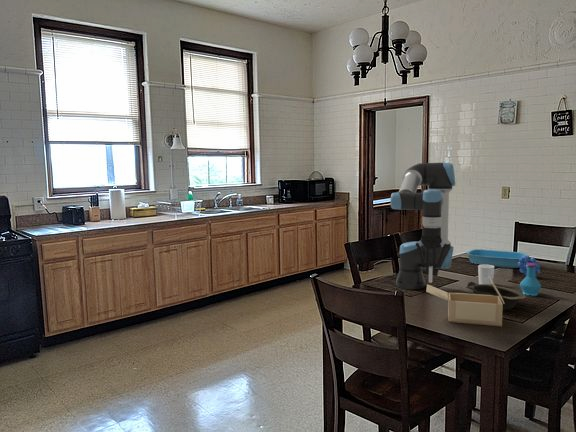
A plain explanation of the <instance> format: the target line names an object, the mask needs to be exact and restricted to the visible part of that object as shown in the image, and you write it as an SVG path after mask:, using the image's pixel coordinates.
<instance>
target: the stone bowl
mask: <svg viewBox="0 0 576 432" xmlns="http://www.w3.org/2000/svg"><path fill="white" fill-rule="evenodd" d="M495 286H496V288H497V290H498V291H499V293H500V295H501V297H502V299H503V301H504V303H505V304H503V302H502V300H501V298H500V300H501V302H502V304H503V311H505V310H508V311H509V310H511V309H513V308H514V307H515V306H516V305H517V304H518V302H519V299H521V300H523V299H526V298H527V295H525V294H523V292H521V291H518V290H515V289H512V288H509V287H508V288H507V287H505V286H499V285H495ZM465 288H466V289H468V290H471V291H473V292H472V294H481V295H492V296H499V295H498V293H497V292H496V290H495V288H494V286H493V285H490V284H479V283H476V282H473V281H470V282H468V283H467V286H465Z"/></svg>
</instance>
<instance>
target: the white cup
mask: <svg viewBox="0 0 576 432" xmlns="http://www.w3.org/2000/svg"><path fill="white" fill-rule="evenodd" d="M477 269H478V270H477V271H478V272H477V273H478V285H479V284H490V285H492V283H491V280H490V278H491V279H492V281H493V282H494V275H495V266H493V265H487V264H481V265H477ZM489 277H490V278H489Z"/></svg>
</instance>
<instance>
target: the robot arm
mask: <svg viewBox="0 0 576 432" xmlns="http://www.w3.org/2000/svg"><path fill="white" fill-rule="evenodd" d="M455 176H456V175H455V169H454V164H453V163H451V162H444V161H443V162H421V163H417V164H414V165H412V166H411V167H409V168H408V169H406V171H405V172H404V173H403V175H402V183H401V185H400V187H399V189H398V190H399V191H397V192H392V193H391V195H390V208H391V209H392V210H399V211H401V210H404V211H405V210H406V211H408V210H410V211H411V210H412V211H413V210H415V211H422V216H421V217H422V218H421V219H422V229H421V230H422V231H421V237H420V240H419V241H407V242H404V243H402V244H401V245H400V246H399V252H398V254H399V268H398V269H399V271H398V273H397V277H396V280H395V286H396V287H397V288H400V289H405V290H423V289H425V288H426V280H425V278H424V274H423V268H425V274H426V275H428V283H429V284H431V283H433V275H436V269H440V270H442V269H445V270H446V269H447V270H448V269H449V268H451V265H452V260H453V253H454V248H455V247H454V245H453V246H452V245H451V243H452V242H451V241H450V240H449V238H448V237H449V206H450V205H449V204H450V200H449V199H450V192H452V190H453V187H454V186H456V177H455ZM420 186H425V187H428V188H427V189H424V190H423V191H422V192H417V191H418V187H420Z"/></svg>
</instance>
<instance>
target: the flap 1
mask: <svg viewBox="0 0 576 432" xmlns="http://www.w3.org/2000/svg"><path fill="white" fill-rule="evenodd" d="M425 292H426V293H428V294H431V295H433V296H435V297H438V298H440V299H443V300H445V301H447V302H448V293H449V292H447V291H446V290H445V291H444V290H442V289H440V288H438V287H435V286H432V285H431V284H428V283H427V284H426V291H425Z"/></svg>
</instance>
